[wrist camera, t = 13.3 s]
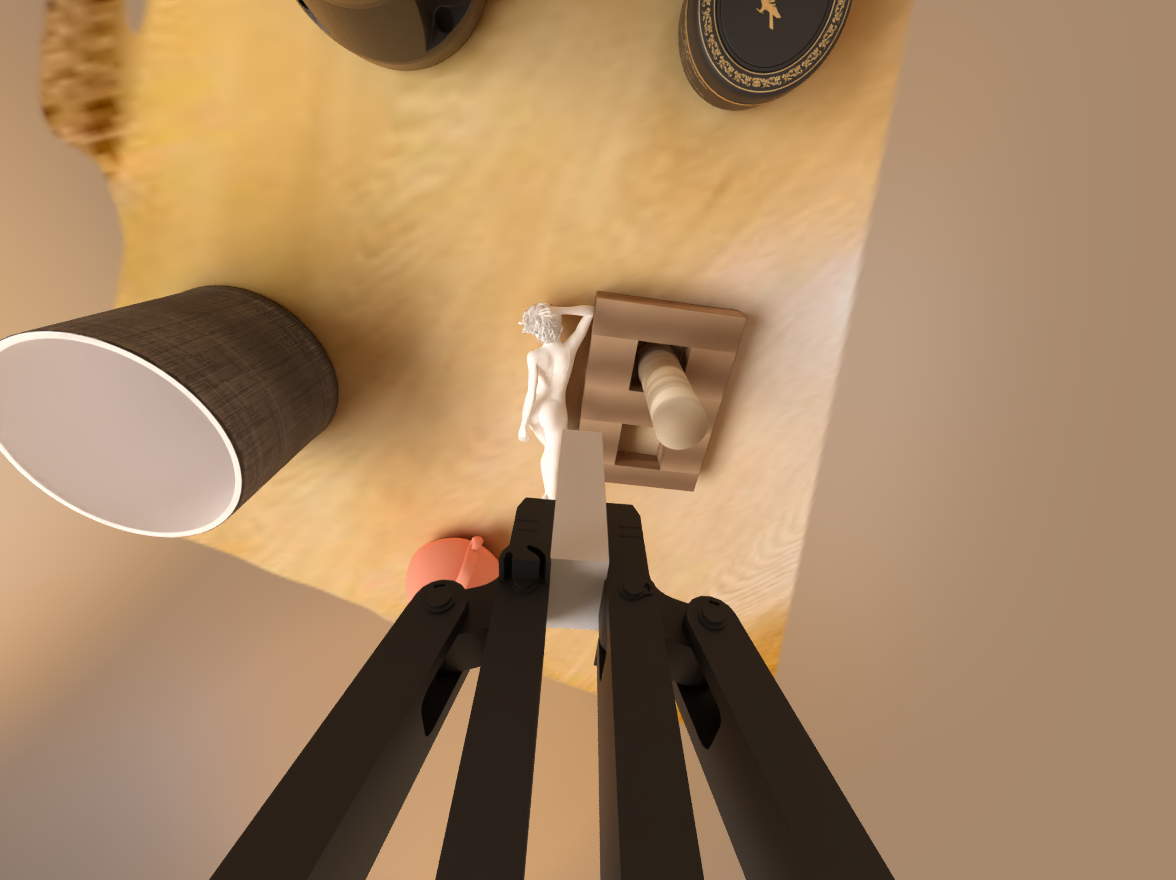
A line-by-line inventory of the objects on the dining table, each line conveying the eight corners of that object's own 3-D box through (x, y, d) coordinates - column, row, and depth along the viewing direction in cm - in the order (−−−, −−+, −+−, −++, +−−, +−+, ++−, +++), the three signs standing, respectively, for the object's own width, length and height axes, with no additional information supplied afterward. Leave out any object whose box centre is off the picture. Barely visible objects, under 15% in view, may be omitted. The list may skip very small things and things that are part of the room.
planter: (353, 449, 52) (269, 543, 38) (196, 439, 51) (53, 531, 37) (319, 292, 43) (194, 341, 29) (129, 277, 42) (-90, 320, 29)
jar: (700, 142, 37) (725, 132, 30) (650, -2, 33) (666, -49, 26) (821, 68, 35) (876, 40, 28) (784, -97, 30) (839, -176, 24)
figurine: (559, 490, 58) (554, 291, 45) (593, 508, 55) (597, 299, 42) (516, 520, 52) (497, 304, 40) (551, 541, 49) (542, 314, 37)
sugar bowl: (402, 573, 62) (371, 637, 53) (440, 503, 56) (411, 563, 47) (484, 603, 65) (467, 670, 56) (527, 541, 59) (516, 604, 50)
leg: (639, 337, 45) (660, 398, 32) (679, 342, 45) (716, 405, 32) (631, 375, 47) (648, 447, 34) (670, 380, 48) (701, 453, 34)
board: (597, 291, 43) (597, 297, 40) (737, 310, 44) (746, 318, 41) (573, 464, 53) (572, 478, 50) (688, 476, 54) (693, 491, 51)
